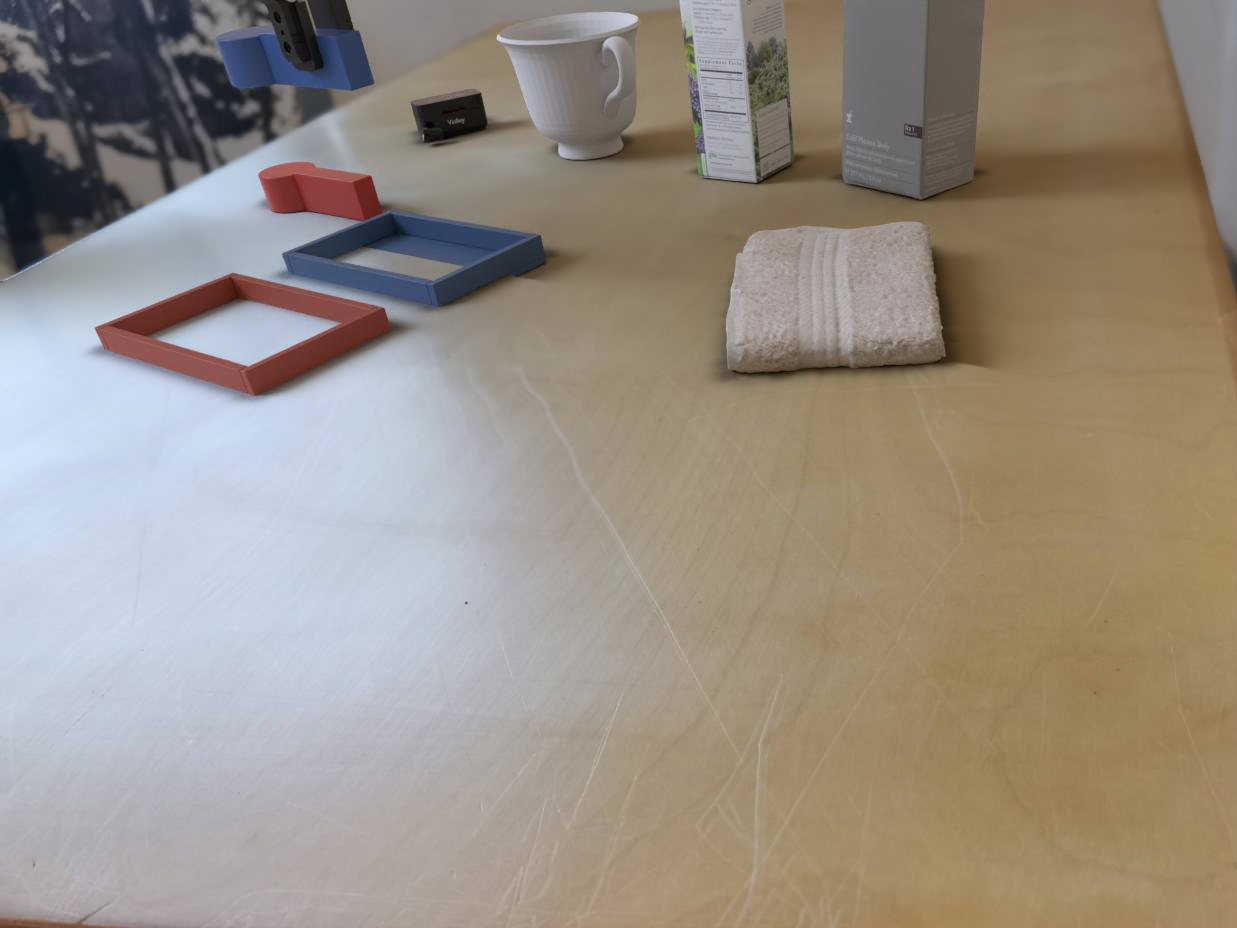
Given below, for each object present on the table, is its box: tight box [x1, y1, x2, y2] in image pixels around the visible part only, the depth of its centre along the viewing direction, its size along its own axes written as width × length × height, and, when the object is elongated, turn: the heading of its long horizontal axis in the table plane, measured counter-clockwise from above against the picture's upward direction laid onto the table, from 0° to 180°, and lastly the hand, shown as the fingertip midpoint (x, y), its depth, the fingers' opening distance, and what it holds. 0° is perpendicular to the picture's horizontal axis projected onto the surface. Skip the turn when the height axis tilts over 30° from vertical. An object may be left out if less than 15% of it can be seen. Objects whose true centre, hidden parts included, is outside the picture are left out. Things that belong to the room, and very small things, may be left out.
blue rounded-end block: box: [214, 24, 375, 92], centre depth 71 cm, size 12×4×3 cm, turn 57°
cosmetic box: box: [841, 0, 986, 200], centre depth 81 cm, size 8×7×16 cm
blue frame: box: [281, 209, 547, 308], centre depth 77 cm, size 15×10×2 cm, turn 57°
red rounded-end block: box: [258, 161, 383, 221], centre depth 91 cm, size 12×4×3 cm, turn 57°
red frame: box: [94, 272, 392, 397], centre depth 69 cm, size 15×10×2 cm, turn 57°
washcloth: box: [725, 221, 947, 374], centre depth 66 cm, size 12×18×3 cm, turn 179°
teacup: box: [496, 11, 642, 161], centre depth 96 cm, size 12×15×10 cm
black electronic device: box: [410, 88, 489, 144], centre depth 107 cm, size 5×7×3 cm, turn 123°
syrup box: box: [678, 0, 795, 184], centre depth 87 cm, size 6×6×14 cm
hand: (325, 64), depth 69 cm, fingers closed on blue rounded-end block, 2 cm apart
